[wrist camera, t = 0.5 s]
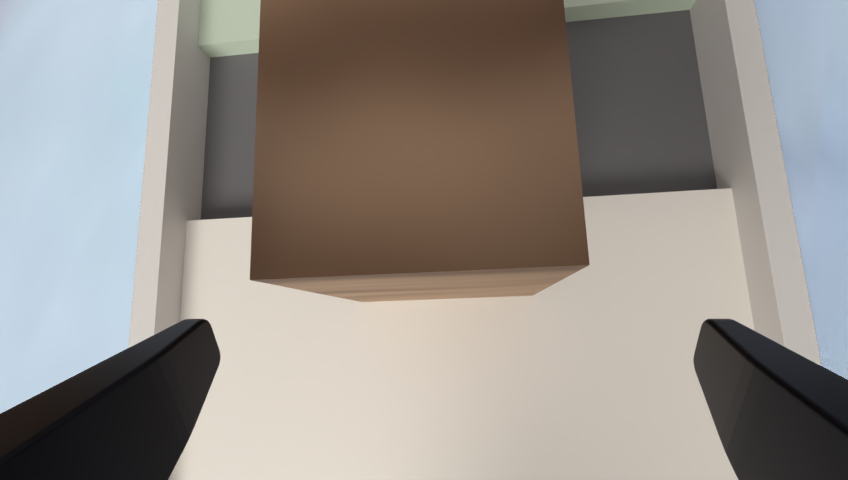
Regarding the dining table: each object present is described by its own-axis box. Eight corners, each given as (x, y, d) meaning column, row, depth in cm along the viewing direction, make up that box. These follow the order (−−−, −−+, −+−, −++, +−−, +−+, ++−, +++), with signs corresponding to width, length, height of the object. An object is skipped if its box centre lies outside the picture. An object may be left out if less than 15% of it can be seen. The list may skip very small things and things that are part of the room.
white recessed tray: (804, 589, 19) (872, 644, 16) (161, 571, 22) (105, 614, 19) (691, -101, 25) (723, -165, 22) (202, -40, 29) (165, -88, 25)
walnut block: (532, 295, 21) (590, 264, 10) (361, 301, 22) (249, 279, 11) (519, 112, 23) (555, -79, 12) (360, 125, 24) (262, -43, 13)
